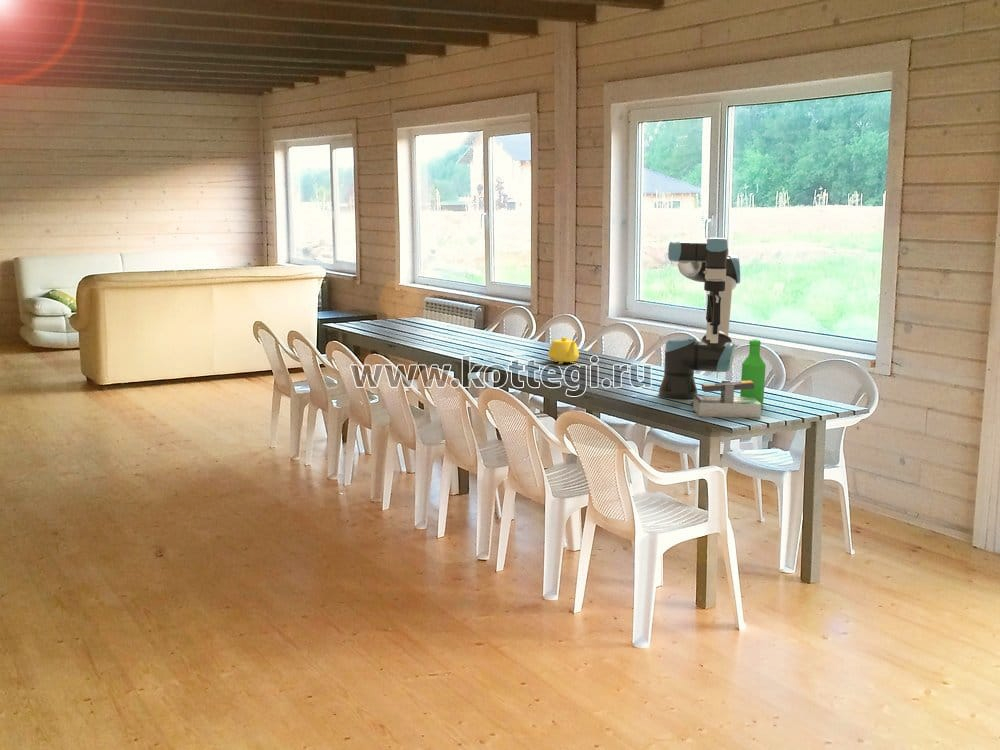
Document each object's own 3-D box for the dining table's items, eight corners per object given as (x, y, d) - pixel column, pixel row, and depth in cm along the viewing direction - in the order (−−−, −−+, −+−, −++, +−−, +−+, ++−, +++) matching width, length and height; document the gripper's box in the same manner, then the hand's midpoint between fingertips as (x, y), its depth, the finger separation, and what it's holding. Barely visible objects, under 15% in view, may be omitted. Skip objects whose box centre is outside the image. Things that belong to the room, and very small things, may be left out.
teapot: (562, 367, 470) (562, 340, 468) (541, 361, 488) (542, 335, 486) (587, 365, 476) (587, 339, 474) (566, 359, 494) (566, 334, 492)
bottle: (736, 402, 392) (740, 338, 388) (758, 402, 393) (762, 338, 389) (743, 406, 384) (747, 341, 379) (766, 406, 384) (770, 341, 380)
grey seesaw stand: (693, 408, 378) (694, 378, 376) (752, 410, 378) (754, 380, 376) (699, 416, 364) (700, 385, 362) (760, 417, 364) (762, 386, 362)
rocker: (701, 389, 373) (701, 383, 372) (751, 386, 372) (750, 380, 371) (704, 392, 367) (704, 385, 367) (754, 388, 366) (754, 382, 366)
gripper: (700, 277, 382) (697, 337, 386) (709, 282, 362) (706, 345, 365) (720, 278, 382) (716, 337, 386) (730, 282, 361) (727, 345, 365)
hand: (711, 341), depth 376 cm, fingers open, 8 cm apart
